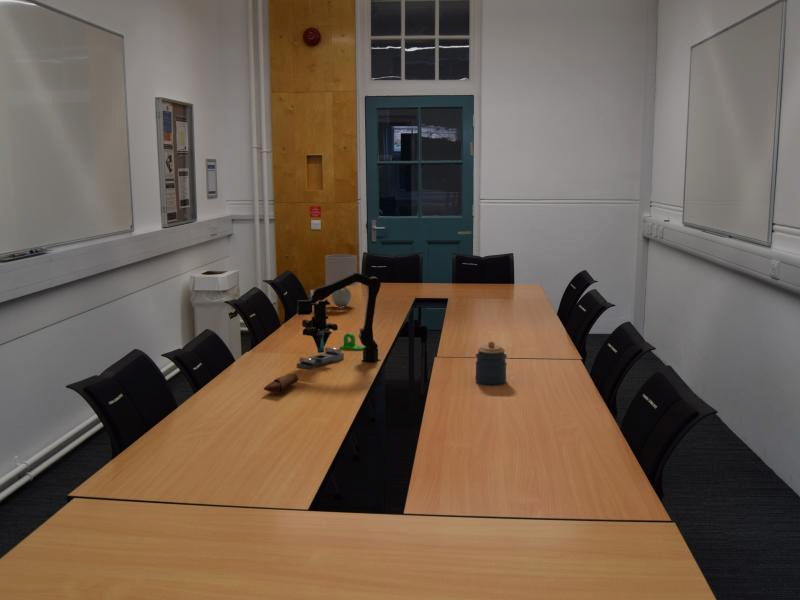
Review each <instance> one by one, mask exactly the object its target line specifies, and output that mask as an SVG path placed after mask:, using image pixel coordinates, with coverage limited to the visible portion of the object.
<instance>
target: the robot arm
mask: <svg viewBox="0 0 800 600" xmlns="http://www.w3.org/2000/svg"><path fill="white" fill-rule="evenodd" d="M355 282H357V283H359V284H362V285H365V286H366V291H367V300H366V305H365V306H366V307H365V308H366V309H365V315H364V322H363V326H362V328H360V327H359V334H358V339H359V341H360V343H361V344H362V346H365V348H363V350H362V360H361V362H364V363H371V364H374V363H376V362H379V361H381V359H379V348H378V347H379V345H378V343H377V341H376V340H374V332H373V331H374V330H373V327H374V326H373V323H374V316H375V308H376V302H377V297H378V294H379V292H380V288H381V281H380V279H379V278H378V277H376V276H373V275H372V276H368V275H365V274H362V273H360V272H358V271H357V272H355V273H353V274H351V275H349V276H347V277H345V278H343V279H340V280H338V281H336V282H334V283H332V284H328V285H326V284H324V285H319V286H317V287H315V288H314V289H313V291H312V292H313V293H312V295H311V297H310V298H309V300H305V299H304V300H300V299H297V316H310V315H311V314H312V313H313V316H311V319H310V320H308V319H302V321H301V322H302V323H301V325H302V327H303V329H302V335H303V336H308V337H309V336H310V337H312V339H313V341H314V343H315V346H316V348H318V349H319V348H320V344H321V339H322V334H320V332H324V333H325V335H324V347H325V346H326V344H327V342H328V341H329V340H328V339H329V337H330V336H331V334H332V333H333V332H335V331H338V329H339V328H338V324H337V323H332V322H328V323H327V319H329V316H327V306H330V305H331V303H330V301H329V300H328V297H330V296H331V295H332V293H333V292H335V291H337V290H340V289H342V288H344V287H346V288H347V287H349V286H348V285H350V284H353V283H355ZM331 330H332V331H331Z"/></svg>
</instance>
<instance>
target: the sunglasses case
mask: <svg viewBox="0 0 800 600" xmlns="http://www.w3.org/2000/svg"><path fill="white" fill-rule="evenodd" d="M298 381H299V377H298V375H297V374H296V373H290V374H285V375H282V376H279V377H277V378H275V379H273V381H271V382H269V383H268V384H267V385H266V386H264V388H263V390H264V391H266V392H270V393H273V394H278V395H279V394H281V393H283V392H284V391H285V390H286V389H288V388H289V387H291V386H292V385H294V384H295V383H297V382H298Z"/></svg>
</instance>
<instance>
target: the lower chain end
mask: <svg viewBox="0 0 800 600" xmlns="http://www.w3.org/2000/svg"><path fill="white" fill-rule="evenodd" d="M333 363H334V362H333V360H329V361H326V362H322V363H321V362H316V360H315V359H309V358H308V357H299V361H298V363H296V368H301V369H307V370H312V369H316V368H319V367H322V366H326V365H329V364H333Z"/></svg>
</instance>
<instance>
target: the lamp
mask: <svg viewBox="0 0 800 600" xmlns="http://www.w3.org/2000/svg"><path fill="white" fill-rule="evenodd" d="M357 262H358V256H357V255H356V254H329V255H325V256H324V265H325V267H324V268H325V269H324V270H325V271H324V272H325V285H328V284H332V283H334V282H336V281H338V280H340V279H343V278H345V277H347V276H349V275H351V274H353V273H355V272H358V266H357V265H358V263H357ZM357 285H358V282H355V283H353V284H350V285H348V286H346V287H344V288H342V289H340V290H337V291H335V292H333V293H332V294H331V295H330V296H331V297H330V298H331V301H332V303H333V305H334V306H338V307H343V306H346V307H347V306H349V304H350V303H351V301H352V293H351V291H350V289H348V288H347V287H351V286H357Z"/></svg>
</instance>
